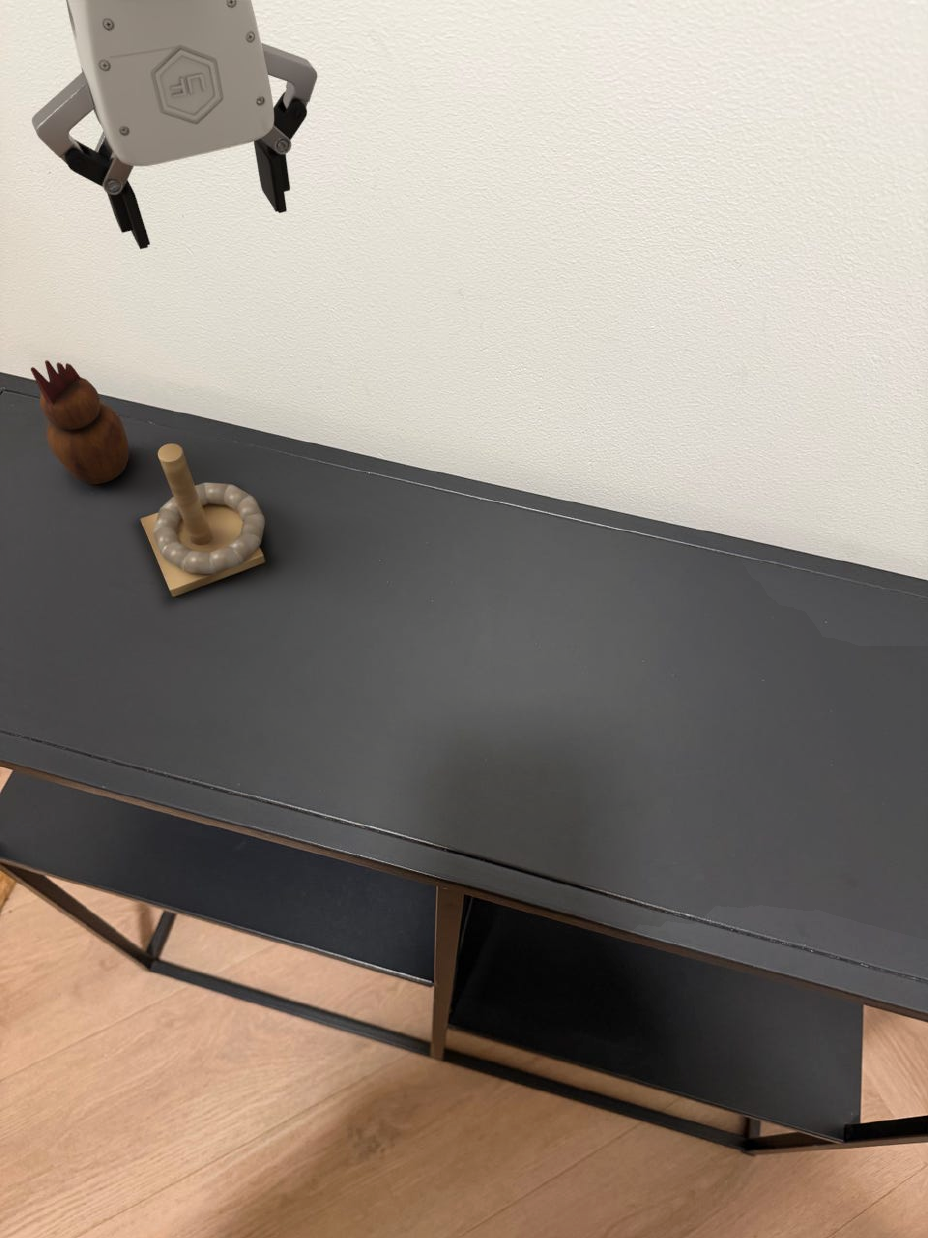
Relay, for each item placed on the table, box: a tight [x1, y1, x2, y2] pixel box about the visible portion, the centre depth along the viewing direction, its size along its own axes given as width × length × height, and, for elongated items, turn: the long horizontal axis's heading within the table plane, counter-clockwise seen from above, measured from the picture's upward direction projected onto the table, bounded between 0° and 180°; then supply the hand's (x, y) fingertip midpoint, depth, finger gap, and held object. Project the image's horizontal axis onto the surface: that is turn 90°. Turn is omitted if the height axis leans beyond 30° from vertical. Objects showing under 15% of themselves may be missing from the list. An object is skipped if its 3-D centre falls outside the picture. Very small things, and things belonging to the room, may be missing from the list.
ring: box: [153, 482, 266, 574], centre depth 79 cm, size 10×10×2 cm
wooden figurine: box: [30, 359, 130, 485], centre depth 78 cm, size 7×6×15 cm
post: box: [140, 443, 266, 598], centre depth 75 cm, size 9×9×13 cm
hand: (208, 218), depth 58 cm, fingers open, 9 cm apart
